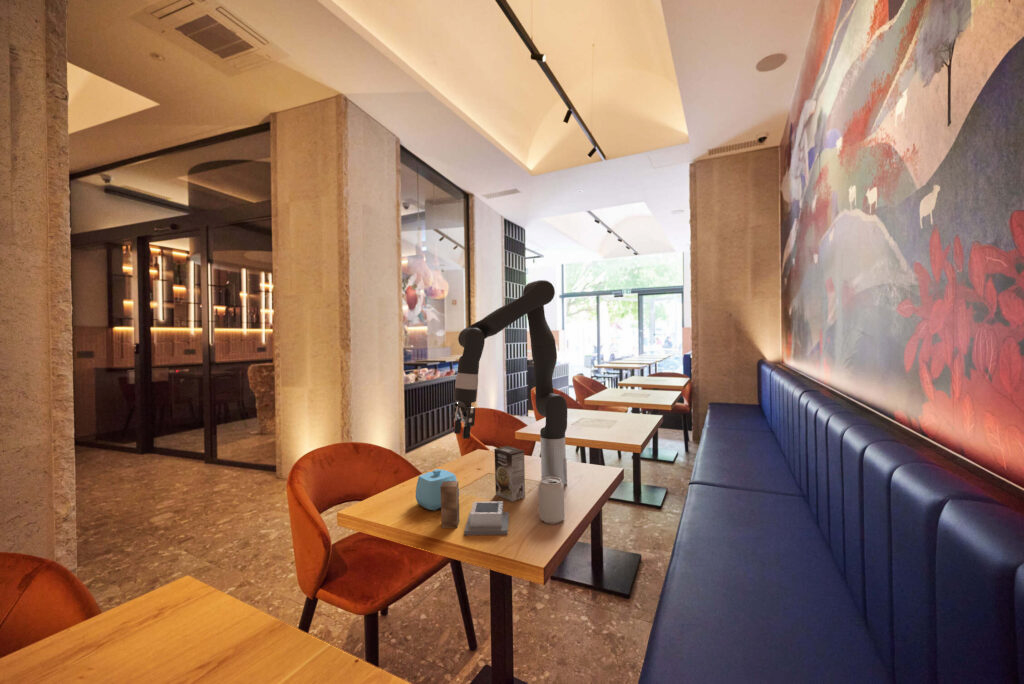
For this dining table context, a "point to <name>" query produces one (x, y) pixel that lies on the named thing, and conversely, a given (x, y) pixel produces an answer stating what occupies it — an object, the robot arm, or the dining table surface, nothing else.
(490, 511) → the dock
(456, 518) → the long tan beam
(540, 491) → the can
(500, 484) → the coffee box
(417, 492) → the teapot
